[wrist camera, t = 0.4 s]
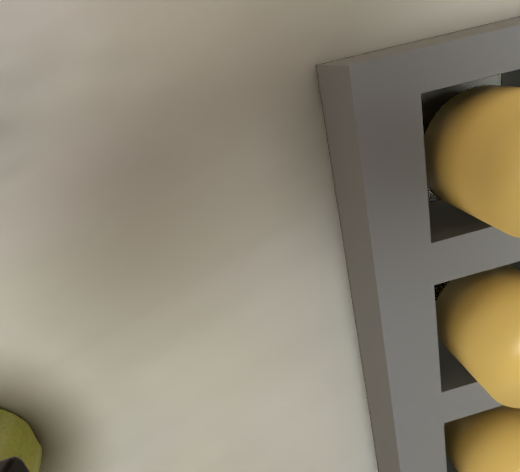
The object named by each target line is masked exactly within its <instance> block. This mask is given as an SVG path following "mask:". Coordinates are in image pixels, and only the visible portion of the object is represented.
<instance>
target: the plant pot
mask: <svg viewBox="0 0 520 472" xmlns="http://www.w3.org/2000/svg"><path fill="white" fill-rule="evenodd" d="M13 456H17V457H19V458H21V459H22V460H23V462H24V463H25V465H26V466H27V468H28V469H29V471H30V472H40V465H41V459H42V446H41V445H40V444H39V442H38V441H37V439H36V437H35V436H34V434H33V432H32V430H31V428H30V426H29V424H28V423H27V422H25V421H24V420H23V419H21V418H20V417H18V416H17V415H15V414H13V413H10V412H8V411H5V410H2V409H0V460H3V459H6V458H9V457H13Z"/></svg>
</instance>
